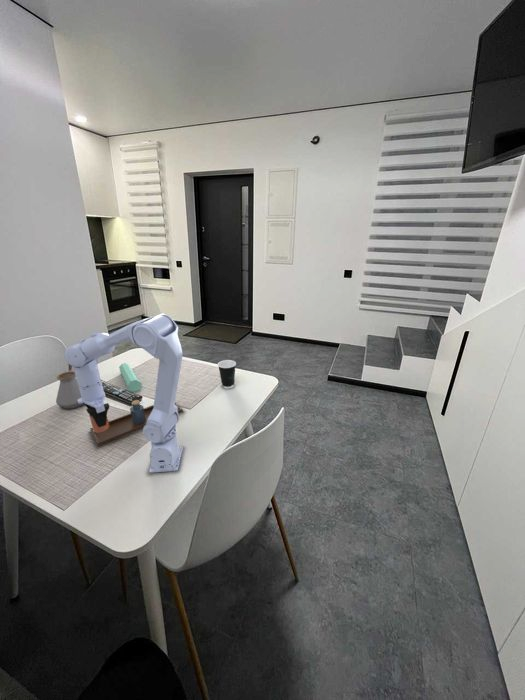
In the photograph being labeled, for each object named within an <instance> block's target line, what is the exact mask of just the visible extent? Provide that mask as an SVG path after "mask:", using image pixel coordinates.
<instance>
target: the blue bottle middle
mask: <svg viewBox="0 0 525 700" xmlns="http://www.w3.org/2000/svg"><path fill="white" fill-rule="evenodd" d="M140 403H141V402H140V400H138V399H135V400H132V401H131V407H130V408H129V411H130V413H131V417H132V422H133V424H135V425H139V424H142V423H144V422H145V421H146V418H145V413H144V408H145V407H144V405H142V404H140Z"/></svg>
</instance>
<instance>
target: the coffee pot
mask: <svg viewBox="0 0 525 700" xmlns="http://www.w3.org/2000/svg"><path fill="white" fill-rule="evenodd" d="M72 369H73V366H71V365H70V364H69V363H68V371H65V372H62V373H59V374H58V375H57V376H56V379H57V380H59V384H58V385H59V386H58V390H57V395H56V399H55V403H56V405H57V406H58V407H61V408H64V409H67V410H71V409H76V408H79V407H81V406H84V404H83V403H81V404H79V403H78V401H77V400H78V399H80V398H82V397H81V393H80V389H79V386H78V382H77V379H76V375H75V372H74V370H73V371H72Z"/></svg>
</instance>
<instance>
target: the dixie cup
mask: <svg viewBox="0 0 525 700" xmlns="http://www.w3.org/2000/svg"><path fill="white" fill-rule="evenodd" d="M236 365H237V362H236V361H235V360H231V359H224V360H220V361H219V362H217V367H218V370H219V377H220V381H221V385H222V388H224V389H232V388H233V387H234V385H235V377H236Z"/></svg>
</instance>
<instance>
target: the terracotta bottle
mask: <svg viewBox="0 0 525 700" xmlns="http://www.w3.org/2000/svg"><path fill="white" fill-rule="evenodd" d="M91 407H92V406H91ZM88 415H89V420H90V423H91V428H93V431H94V432H97V433H99V432H103V431H105V430H107V429H108V428H109V418H108V417H107V423H106V425H105V426H102V427H100V428H99V427H98V426H97V424H96V422H95V420H94V418H93V417H92V416H91V415H90V414H89V413H88Z"/></svg>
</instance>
